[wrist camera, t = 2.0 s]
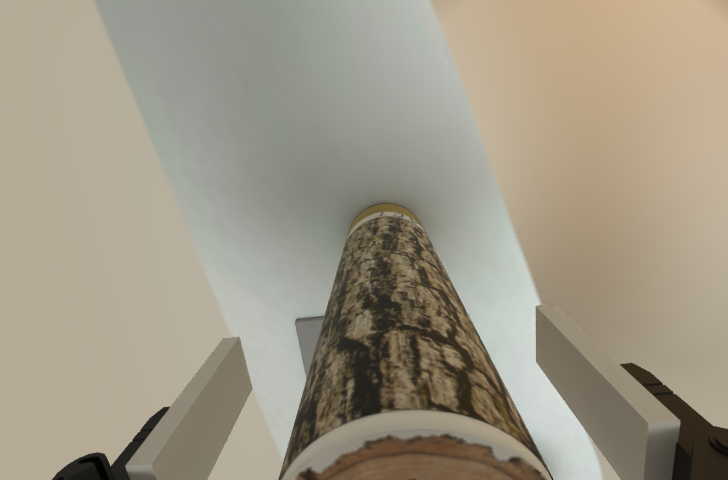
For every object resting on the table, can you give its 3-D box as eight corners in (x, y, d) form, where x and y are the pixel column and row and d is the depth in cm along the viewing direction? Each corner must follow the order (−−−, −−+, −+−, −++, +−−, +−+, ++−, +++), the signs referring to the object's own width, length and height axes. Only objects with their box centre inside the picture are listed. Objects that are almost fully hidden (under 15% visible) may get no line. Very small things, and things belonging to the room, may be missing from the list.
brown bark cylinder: (389, 289, 33) (424, 684, 9) (332, 243, 32) (206, 557, 8) (440, 235, 32) (640, 545, 8) (382, 185, 31) (405, 365, 7)
